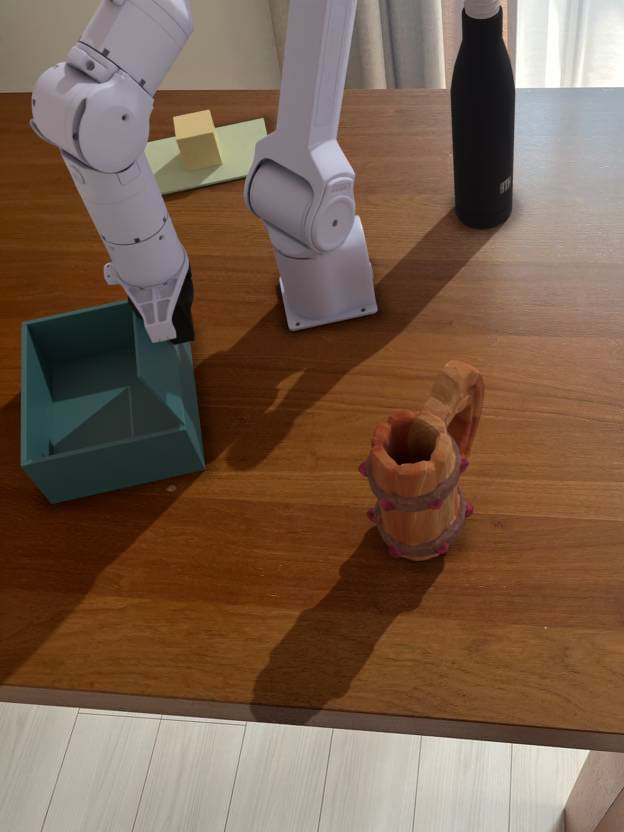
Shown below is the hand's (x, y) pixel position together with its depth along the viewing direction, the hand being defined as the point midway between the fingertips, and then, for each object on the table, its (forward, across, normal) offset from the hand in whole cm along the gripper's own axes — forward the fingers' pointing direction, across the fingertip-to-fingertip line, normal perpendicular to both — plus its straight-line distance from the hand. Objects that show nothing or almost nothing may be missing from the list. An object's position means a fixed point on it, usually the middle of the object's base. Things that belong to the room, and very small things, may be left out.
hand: (183, 337), depth 82 cm
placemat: (+8, -37, +3) cm, 38 cm away
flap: (-2, 0, -2) cm, 3 cm away
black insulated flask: (+9, -18, +33) cm, 39 cm away
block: (+8, -37, +3) cm, 38 cm away
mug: (+9, +19, +19) cm, 29 cm away
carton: (+8, 0, -9) cm, 12 cm away
